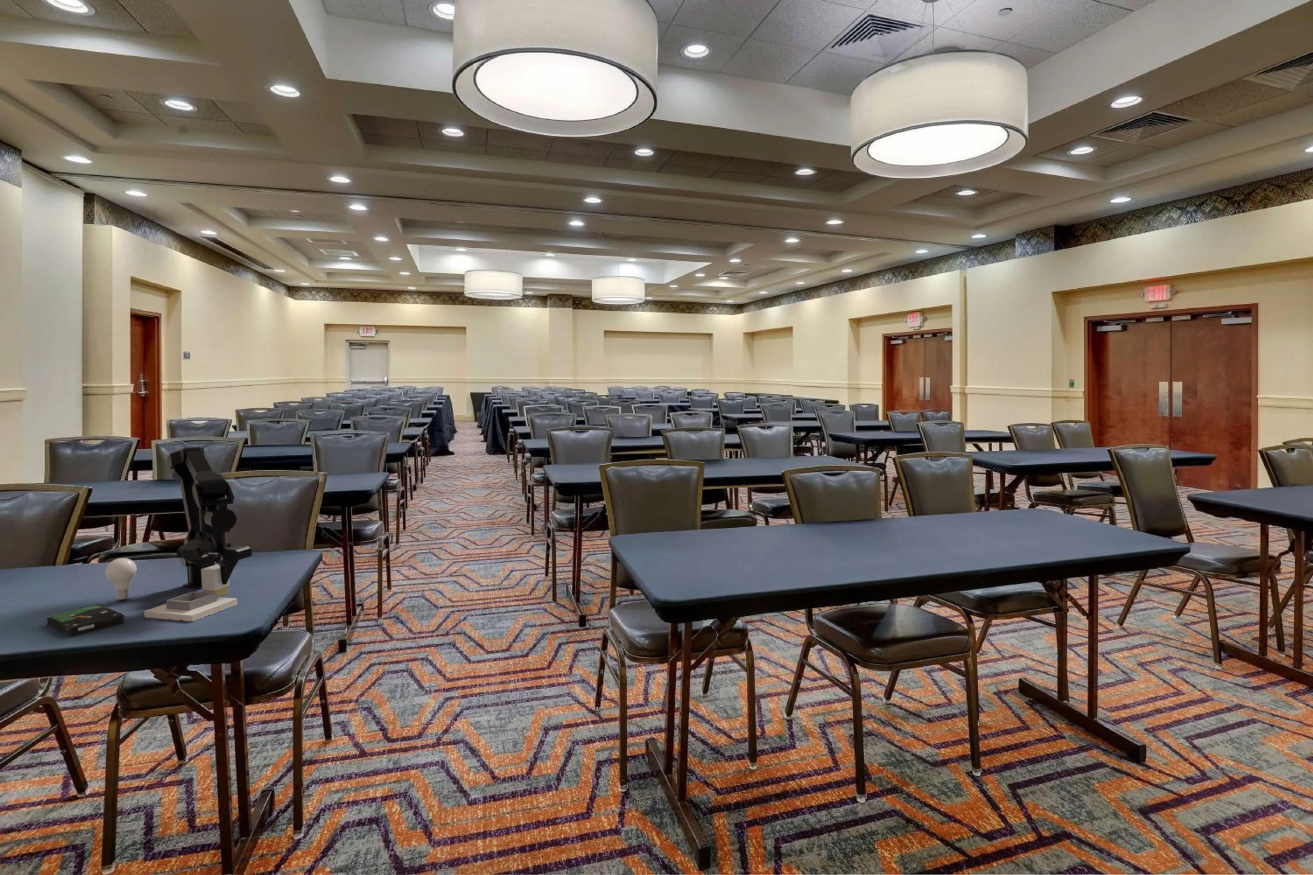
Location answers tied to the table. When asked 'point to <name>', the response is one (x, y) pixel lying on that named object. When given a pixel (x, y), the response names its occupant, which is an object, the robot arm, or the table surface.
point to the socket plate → (191, 606)
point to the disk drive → (85, 620)
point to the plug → (213, 580)
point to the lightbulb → (121, 576)
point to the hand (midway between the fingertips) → (216, 583)
